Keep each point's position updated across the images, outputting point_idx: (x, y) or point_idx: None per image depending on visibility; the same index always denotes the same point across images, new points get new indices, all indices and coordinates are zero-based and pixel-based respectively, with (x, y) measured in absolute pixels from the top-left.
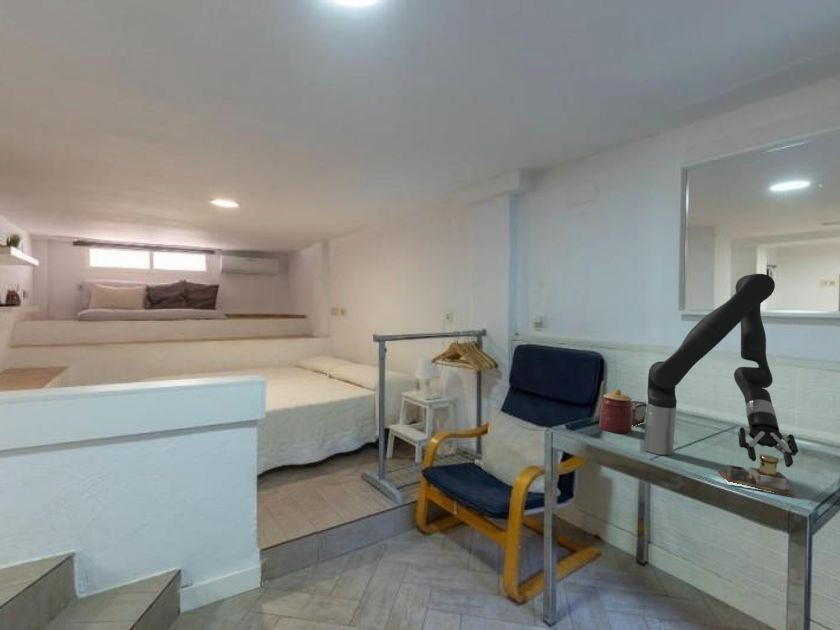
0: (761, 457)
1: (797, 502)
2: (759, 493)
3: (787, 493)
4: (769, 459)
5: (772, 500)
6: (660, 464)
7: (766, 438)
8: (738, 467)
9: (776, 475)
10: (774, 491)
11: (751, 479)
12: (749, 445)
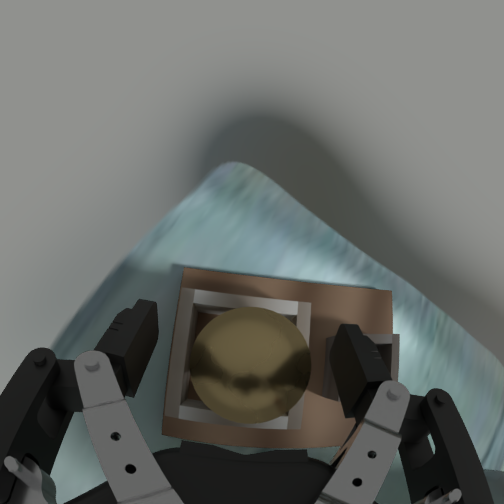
0: (306, 346)
1: (202, 226)
2: (304, 259)
3: (206, 271)
4: (269, 310)
5: (283, 210)
6: (498, 379)
7: (257, 501)
8: None
9: (184, 402)
10: (248, 277)
11: None
12: (401, 387)
